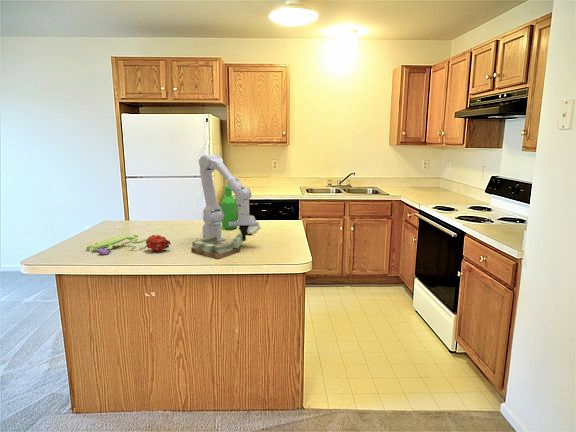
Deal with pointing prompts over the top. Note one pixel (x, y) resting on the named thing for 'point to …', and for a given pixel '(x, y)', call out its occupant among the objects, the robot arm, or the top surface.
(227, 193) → the bottle
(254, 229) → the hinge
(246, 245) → the top surface
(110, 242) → the figurine
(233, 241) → the hinged leg
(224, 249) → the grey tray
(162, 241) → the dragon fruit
